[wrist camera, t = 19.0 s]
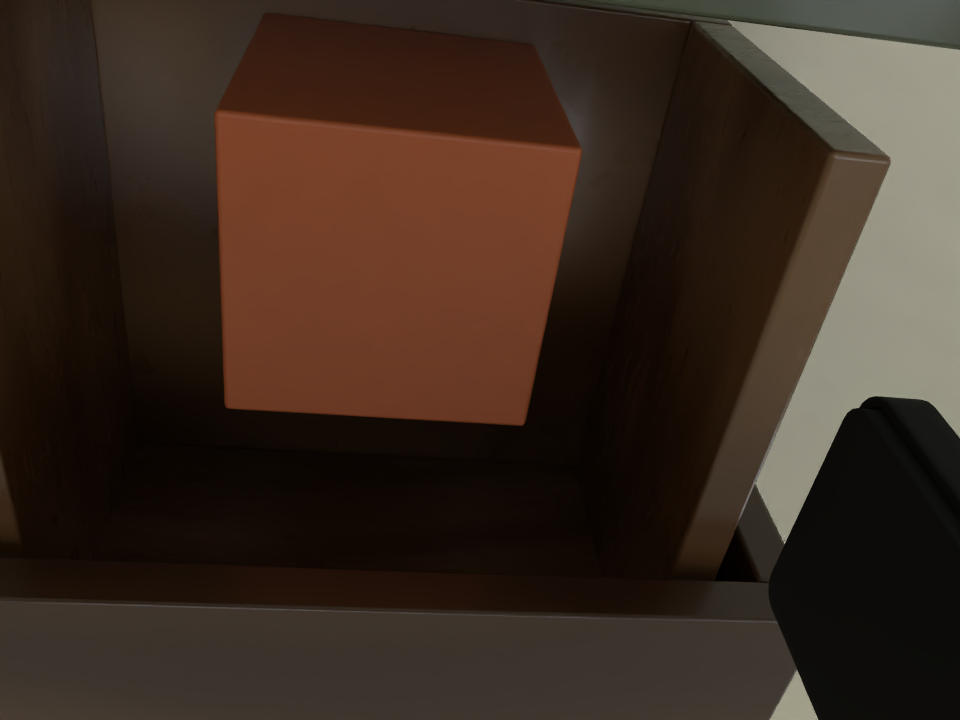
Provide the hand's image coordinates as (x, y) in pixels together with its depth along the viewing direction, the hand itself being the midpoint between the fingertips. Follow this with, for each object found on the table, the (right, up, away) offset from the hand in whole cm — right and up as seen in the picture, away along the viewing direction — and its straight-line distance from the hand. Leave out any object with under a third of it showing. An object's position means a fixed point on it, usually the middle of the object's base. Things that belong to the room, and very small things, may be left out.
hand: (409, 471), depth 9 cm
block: (-1, +5, +7) cm, 8 cm away
